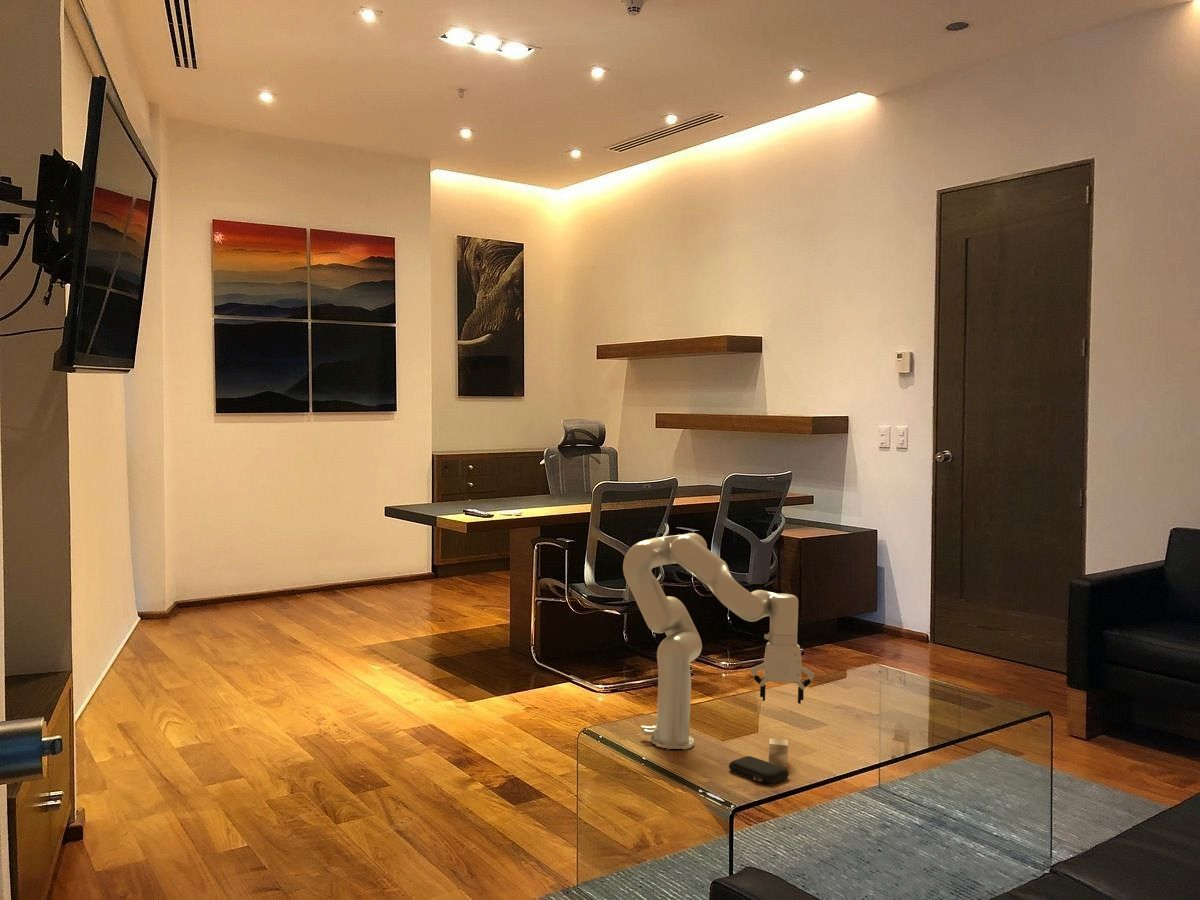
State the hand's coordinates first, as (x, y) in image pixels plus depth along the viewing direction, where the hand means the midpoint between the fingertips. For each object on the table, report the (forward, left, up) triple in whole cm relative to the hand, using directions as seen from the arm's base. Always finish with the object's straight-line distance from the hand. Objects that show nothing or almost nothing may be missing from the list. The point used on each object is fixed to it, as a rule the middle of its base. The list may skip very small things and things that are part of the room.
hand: (781, 701), depth 260 cm
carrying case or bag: (-6, -11, -18) cm, 22 cm away
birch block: (0, 0, -17) cm, 17 cm away
